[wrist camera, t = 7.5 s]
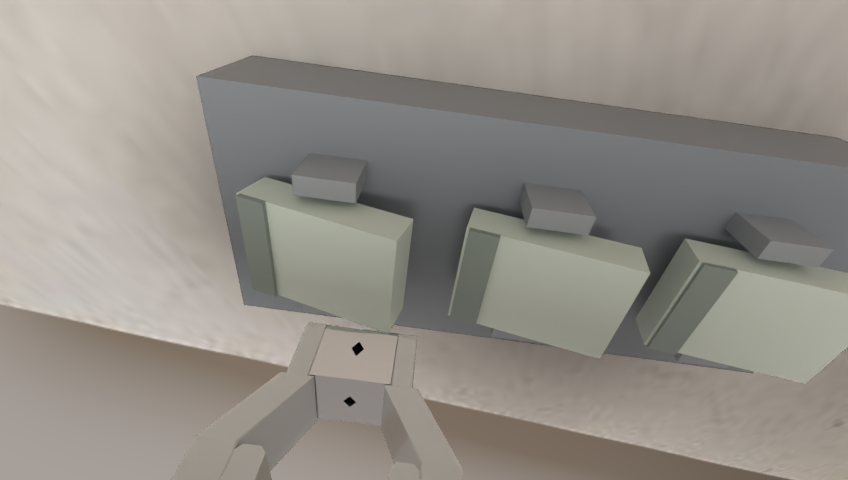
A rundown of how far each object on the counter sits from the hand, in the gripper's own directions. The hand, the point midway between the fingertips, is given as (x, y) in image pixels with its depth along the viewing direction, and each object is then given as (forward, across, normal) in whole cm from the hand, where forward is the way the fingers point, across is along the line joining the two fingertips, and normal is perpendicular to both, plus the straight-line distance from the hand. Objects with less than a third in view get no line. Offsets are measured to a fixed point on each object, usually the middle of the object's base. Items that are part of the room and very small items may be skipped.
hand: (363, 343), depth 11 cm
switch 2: (+3, -6, 0) cm, 6 cm away
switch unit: (+9, -6, 0) cm, 11 cm away
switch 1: (+4, +2, 0) cm, 4 cm away
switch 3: (+3, -13, 0) cm, 13 cm away
